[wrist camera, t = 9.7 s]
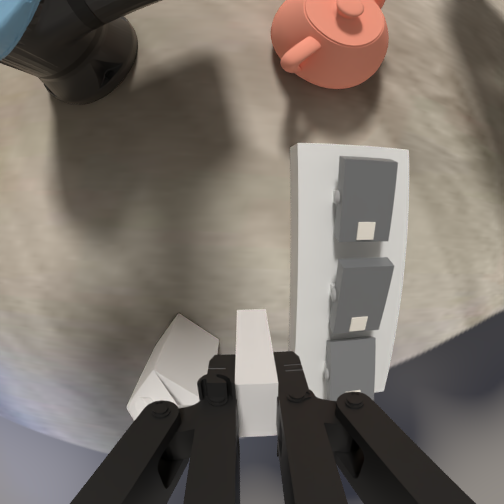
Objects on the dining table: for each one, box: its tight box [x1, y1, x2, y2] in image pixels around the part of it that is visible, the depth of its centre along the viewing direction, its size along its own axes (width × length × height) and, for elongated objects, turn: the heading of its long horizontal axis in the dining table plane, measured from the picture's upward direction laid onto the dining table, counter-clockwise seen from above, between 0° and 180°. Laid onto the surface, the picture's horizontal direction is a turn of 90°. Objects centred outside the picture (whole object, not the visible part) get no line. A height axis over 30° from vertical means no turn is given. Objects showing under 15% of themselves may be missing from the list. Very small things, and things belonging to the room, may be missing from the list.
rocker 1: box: [334, 156, 398, 242], centre depth 33 cm, size 9×6×3 cm
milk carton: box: [127, 313, 219, 421], centre depth 36 cm, size 7×7×19 cm
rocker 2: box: [324, 336, 376, 401], centre depth 38 cm, size 9×6×3 cm
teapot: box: [271, 0, 389, 89], centre depth 30 cm, size 22×15×12 cm
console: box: [289, 143, 409, 399], centre depth 40 cm, size 34×15×7 cm, turn 1°
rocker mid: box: [329, 257, 394, 334], centre depth 35 cm, size 9×6×3 cm
